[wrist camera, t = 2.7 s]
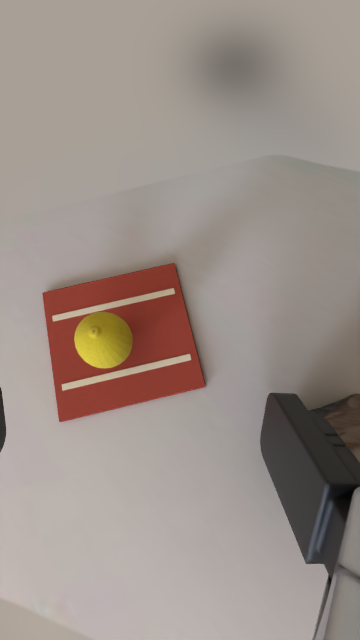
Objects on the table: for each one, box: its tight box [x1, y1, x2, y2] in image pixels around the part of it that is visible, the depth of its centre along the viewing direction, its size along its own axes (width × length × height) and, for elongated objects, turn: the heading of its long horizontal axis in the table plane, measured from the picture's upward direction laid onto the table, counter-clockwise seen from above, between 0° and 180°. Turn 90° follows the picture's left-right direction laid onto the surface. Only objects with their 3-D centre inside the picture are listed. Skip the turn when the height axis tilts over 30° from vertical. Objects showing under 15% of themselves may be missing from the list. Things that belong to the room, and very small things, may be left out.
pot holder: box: [43, 263, 205, 422], centre depth 38 cm, size 16×15×1 cm
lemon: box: [74, 312, 133, 368], centre depth 33 cm, size 6×6×8 cm
